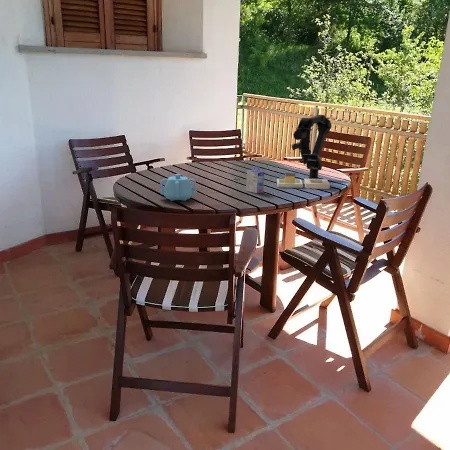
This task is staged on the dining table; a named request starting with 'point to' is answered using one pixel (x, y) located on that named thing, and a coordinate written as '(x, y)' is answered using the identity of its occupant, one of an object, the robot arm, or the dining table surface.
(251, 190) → the ink cartridge box
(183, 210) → the dining table surface
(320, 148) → the robot arm
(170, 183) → the decorative pot
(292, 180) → the block
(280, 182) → the parts tray
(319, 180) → the white square frame
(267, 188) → the dining table surface
